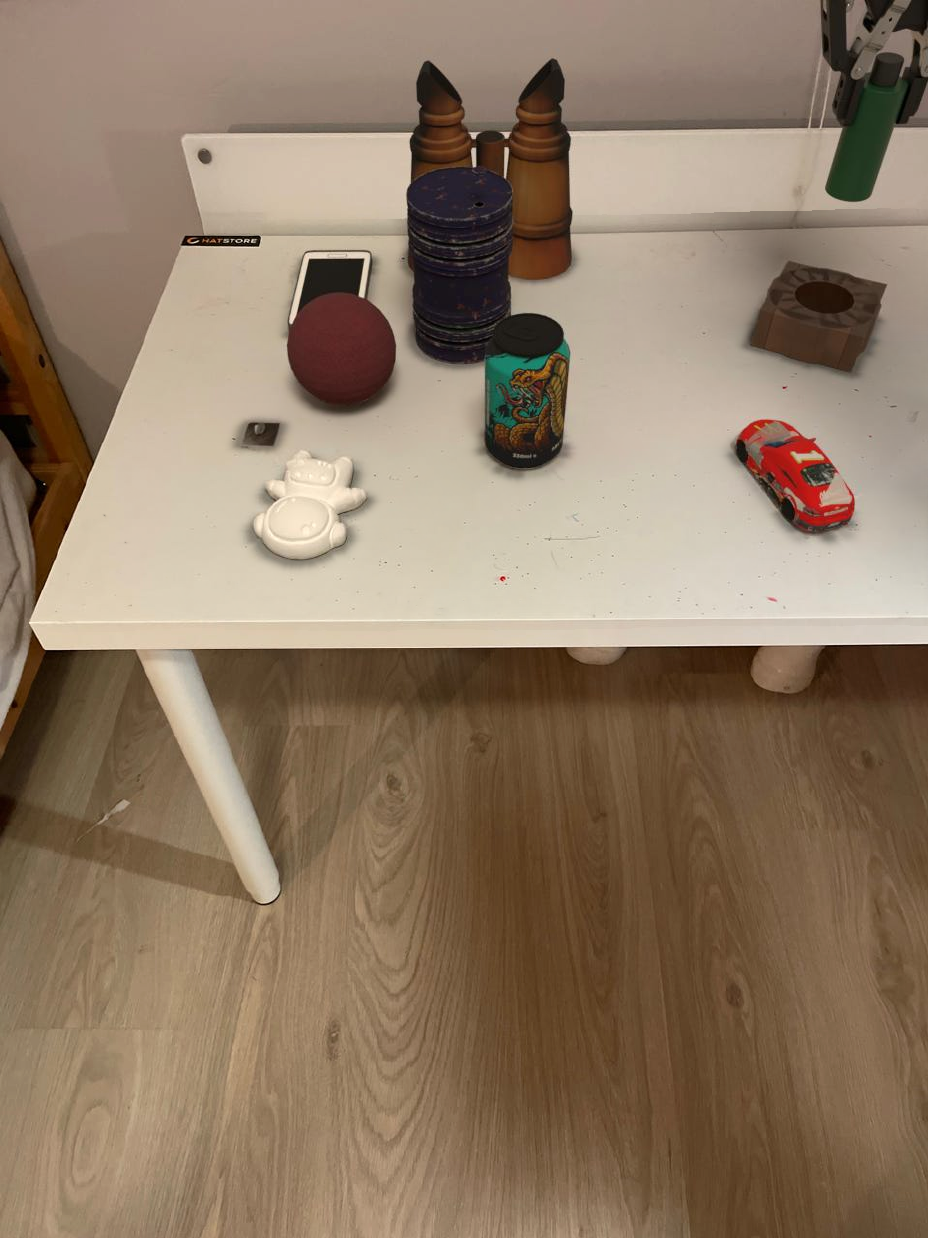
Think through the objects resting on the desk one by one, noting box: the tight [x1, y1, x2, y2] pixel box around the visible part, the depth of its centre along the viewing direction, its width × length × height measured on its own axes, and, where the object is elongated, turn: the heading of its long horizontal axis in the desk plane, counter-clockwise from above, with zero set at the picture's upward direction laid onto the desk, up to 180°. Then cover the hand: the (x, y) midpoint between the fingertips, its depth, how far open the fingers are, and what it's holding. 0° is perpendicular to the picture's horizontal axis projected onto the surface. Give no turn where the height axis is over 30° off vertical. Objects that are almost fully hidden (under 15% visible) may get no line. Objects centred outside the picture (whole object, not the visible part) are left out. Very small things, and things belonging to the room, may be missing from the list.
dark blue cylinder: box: [405, 166, 513, 365], centre depth 88 cm, size 10×10×18 cm
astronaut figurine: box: [252, 449, 367, 560], centre depth 79 cm, size 9×12×3 cm
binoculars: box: [406, 57, 574, 280], centre depth 96 cm, size 18×8×20 cm, turn 90°
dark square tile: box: [241, 421, 280, 447], centre depth 86 cm, size 3×3×1 cm
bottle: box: [824, 51, 908, 203], centre depth 78 cm, size 4×4×11 cm
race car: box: [735, 418, 856, 533], centre depth 79 cm, size 13×5×4 cm, turn 17°
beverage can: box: [484, 312, 571, 470], centre depth 80 cm, size 7×7×12 cm
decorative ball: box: [286, 292, 397, 406], centre depth 86 cm, size 10×10×10 cm
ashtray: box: [750, 260, 888, 373], centre depth 93 cm, size 11×11×4 cm
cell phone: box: [287, 249, 373, 331], centre depth 100 cm, size 8×15×1 cm, turn 179°
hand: (871, 119), depth 78 cm, fingers closed on bottle, 4 cm apart
